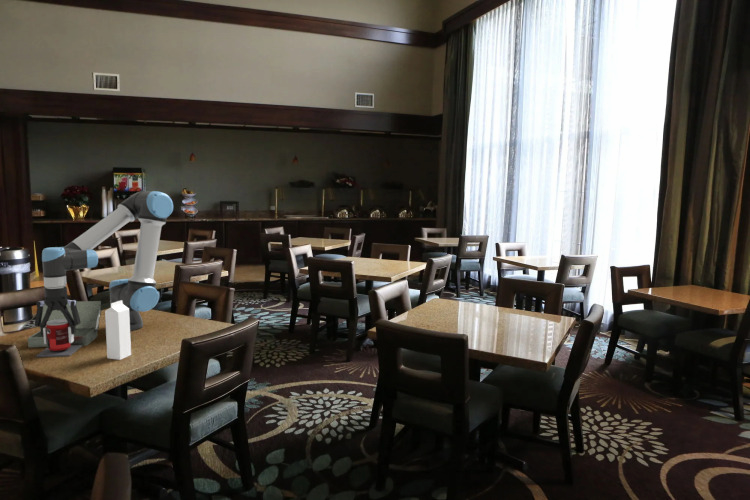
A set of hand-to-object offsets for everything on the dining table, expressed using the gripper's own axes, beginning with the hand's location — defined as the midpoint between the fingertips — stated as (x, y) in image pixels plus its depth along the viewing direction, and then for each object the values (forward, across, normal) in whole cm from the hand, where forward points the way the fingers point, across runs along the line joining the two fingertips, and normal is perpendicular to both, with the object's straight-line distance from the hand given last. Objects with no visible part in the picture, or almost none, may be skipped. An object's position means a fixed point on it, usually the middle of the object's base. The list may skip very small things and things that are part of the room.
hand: (59, 342), depth 200 cm
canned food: (+3, 0, 0) cm, 3 cm away
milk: (+4, -25, +9) cm, 27 cm away
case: (+4, +3, -16) cm, 16 cm away
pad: (+4, 0, 0) cm, 4 cm away
